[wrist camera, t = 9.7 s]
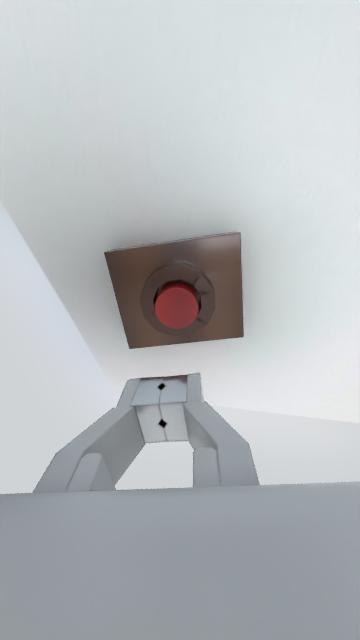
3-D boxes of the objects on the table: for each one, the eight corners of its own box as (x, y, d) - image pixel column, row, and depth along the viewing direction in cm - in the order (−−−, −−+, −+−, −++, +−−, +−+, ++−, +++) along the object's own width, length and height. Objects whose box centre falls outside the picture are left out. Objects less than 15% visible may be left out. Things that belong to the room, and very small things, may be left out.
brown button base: (134, 339, 26) (124, 358, 22) (111, 249, 22) (95, 254, 18) (239, 327, 24) (248, 346, 21) (235, 231, 21) (245, 232, 17)
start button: (161, 323, 21) (158, 331, 19) (154, 285, 19) (150, 290, 18) (199, 318, 20) (200, 326, 19) (195, 280, 19) (196, 285, 17)
